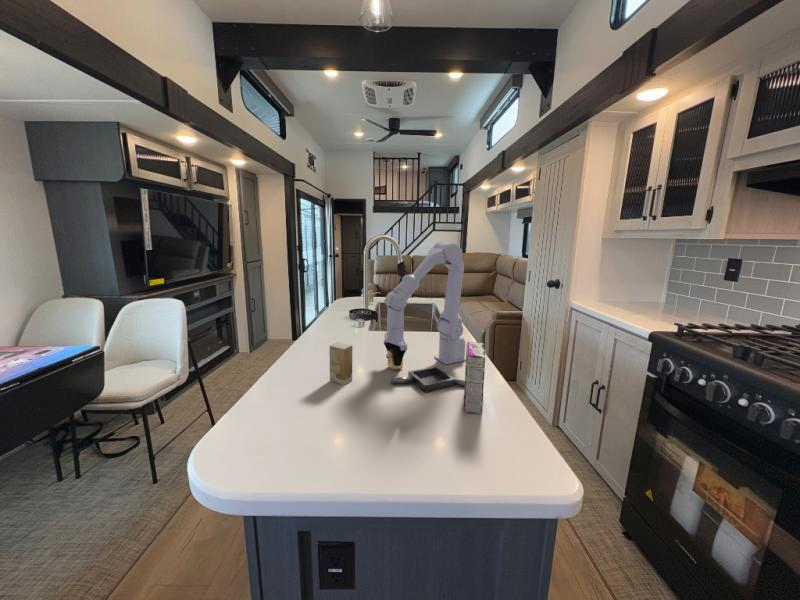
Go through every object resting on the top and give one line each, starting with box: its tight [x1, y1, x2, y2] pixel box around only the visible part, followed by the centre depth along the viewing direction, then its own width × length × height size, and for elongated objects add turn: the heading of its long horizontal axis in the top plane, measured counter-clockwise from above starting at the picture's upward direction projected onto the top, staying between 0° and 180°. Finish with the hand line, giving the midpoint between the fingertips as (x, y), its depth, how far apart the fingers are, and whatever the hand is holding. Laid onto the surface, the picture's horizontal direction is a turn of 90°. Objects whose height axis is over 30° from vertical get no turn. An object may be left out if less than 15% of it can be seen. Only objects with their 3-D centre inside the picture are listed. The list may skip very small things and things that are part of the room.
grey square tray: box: [407, 365, 457, 394], centre depth 103 cm, size 11×11×2 cm
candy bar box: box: [463, 341, 486, 415], centre depth 89 cm, size 11×5×16 cm, turn 168°
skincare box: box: [329, 341, 353, 386], centre depth 102 cm, size 6×4×12 cm
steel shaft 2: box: [454, 378, 465, 388], centre depth 100 cm, size 7×2×2 cm, turn 76°
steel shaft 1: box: [390, 376, 414, 385], centre depth 102 cm, size 7×2×2 cm, turn 96°
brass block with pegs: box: [385, 350, 404, 371], centre depth 113 cm, size 6×4×6 cm, turn 116°
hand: (395, 363), depth 114 cm, fingers closed on brass block with pegs, 4 cm apart
